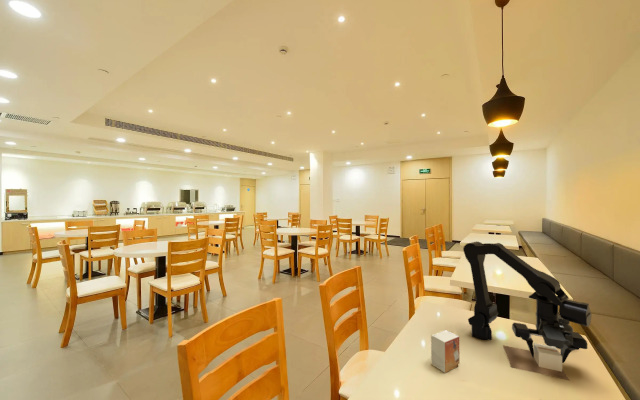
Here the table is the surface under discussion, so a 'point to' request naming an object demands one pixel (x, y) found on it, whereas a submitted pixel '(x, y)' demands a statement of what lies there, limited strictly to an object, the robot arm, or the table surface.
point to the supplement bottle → (564, 325)
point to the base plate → (529, 362)
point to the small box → (445, 350)
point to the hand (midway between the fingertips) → (547, 359)
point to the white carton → (547, 357)
